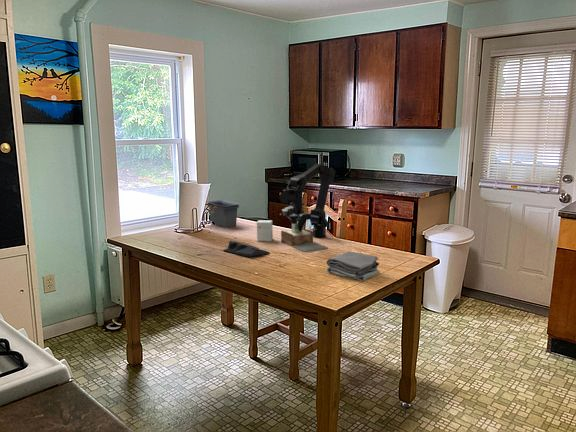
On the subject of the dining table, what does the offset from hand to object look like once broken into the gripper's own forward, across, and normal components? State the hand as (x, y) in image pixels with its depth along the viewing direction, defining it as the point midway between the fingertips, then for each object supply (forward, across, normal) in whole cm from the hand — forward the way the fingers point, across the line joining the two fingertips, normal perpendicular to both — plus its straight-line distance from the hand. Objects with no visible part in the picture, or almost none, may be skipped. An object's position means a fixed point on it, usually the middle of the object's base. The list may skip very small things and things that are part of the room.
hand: (297, 230), depth 245 cm
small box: (+7, -14, -12) cm, 20 cm away
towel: (+7, +57, -7) cm, 58 cm away
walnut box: (+7, 0, 0) cm, 7 cm away
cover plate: (+2, 0, 0) cm, 2 cm away
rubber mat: (+7, +12, 0) cm, 14 cm away
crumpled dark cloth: (+8, +3, -31) cm, 32 cm away
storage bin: (+7, -62, -17) cm, 65 cm away
